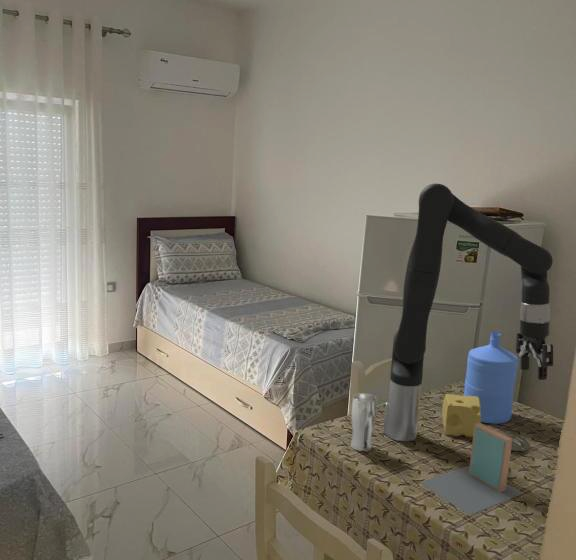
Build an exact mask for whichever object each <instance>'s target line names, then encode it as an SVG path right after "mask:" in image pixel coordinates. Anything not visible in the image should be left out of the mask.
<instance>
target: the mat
mask: <svg viewBox="0 0 576 560" xmlns="http://www.w3.org/2000/svg"><path fill="white" fill-rule="evenodd" d="M469 468H470V464H469V465H466V466H463V467H460V468H458V469H454V470H451V471H449V472H446V473H443V474H442V473H441V474H440V475H437V476H436V475H435V476H434V477H431V478H428V479H425V480H422V481H419V484H421V485H423V486H424V487H426V488H427V489H428V490H430V491H432V492H433V493H435V494H436V495H438V496H440V497H441V498H442V499H444V500H445V501H447V502H448V503H450V504H452V505H453V506H454V507H456V508H457V509H459V510H460V511H461V512H464V513H465V515H468V516H472V515H474V514H476V513H480V512H481V511H484V510H486V509H489V508H491V507H494V506H496V505H499V504H501V503H504V502H506V501H508V500H510V499H513V498H516V497H519V496H520V495H523V494H524V492H522V491H520V490H519V489H517V488H515V487H513V486H512V485H510V484H508V483H507V484H506V490H505V491H503V492H499V491H497V490H496V489H494V488H492V487H490V486H489V485H487V484H485V483H484V482H482V481H480V480H479V479H477V478H475V477H474V476H472V475H470V474H469Z"/></svg>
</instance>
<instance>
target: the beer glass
mask: <svg viewBox="0 0 576 560" xmlns="http://www.w3.org/2000/svg"><path fill="white" fill-rule="evenodd" d="M350 410H351V412H350V415H351V418H350V420H351V428H352V429H351V430H352V437H351V441H350V448H351V447H352V448H353V450H354V449H355V450H354V451H356V450H359V451H358V452H361V451H365V452H369V451H371V450H372V448H373V447H372V433H373V429H374V425H375V421H376V415H377V396H375V395H373V394H371V393H365V392H359V393H355V394H353V396H352V402H351V409H350ZM352 448H351V449H352Z"/></svg>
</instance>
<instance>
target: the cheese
mask: <svg viewBox="0 0 576 560" xmlns="http://www.w3.org/2000/svg"><path fill="white" fill-rule="evenodd" d="M441 410H442V411H441V412H442V413H441V415H442V416H441V417H442V426H443V429H444V435H445V436H451V437H452V436H453V437H461V436H464V437H465V438H469V437H470V438H471V437H472V438H473V434H474V426H475V424H477V423H482V422H481V414H480V402H479V398H478V397H477V396H464V395H459V394H450V393H446V394H445V395H444V397H443V403H442V409H441Z"/></svg>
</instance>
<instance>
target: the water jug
mask: <svg viewBox="0 0 576 560" xmlns="http://www.w3.org/2000/svg"><path fill="white" fill-rule="evenodd" d="M501 337H502V334H501V333H500V332H499V333H498V332H490V337H489V340H490V341H489V344H488V345H487V344H486V345H484V346H478V347H475V348H471V349H470V350H469V351H468V356H467V359H466V361H467V365H466V375H465V380H464V393H463V396H477V397H478V398H479V402H480V414H481V422H480V423H484V424H491V425H496V424H499V425H500V424H504V423H508V422H509V421H510V420H511V419H512V413H513V403H514V398H513V397H514V390H515V384H516V379H517V372H518V368H519V358H518V356H516V355H515V354H514V353H512V352H510V351H509V350H507V349H505V348H503V347H501Z"/></svg>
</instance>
